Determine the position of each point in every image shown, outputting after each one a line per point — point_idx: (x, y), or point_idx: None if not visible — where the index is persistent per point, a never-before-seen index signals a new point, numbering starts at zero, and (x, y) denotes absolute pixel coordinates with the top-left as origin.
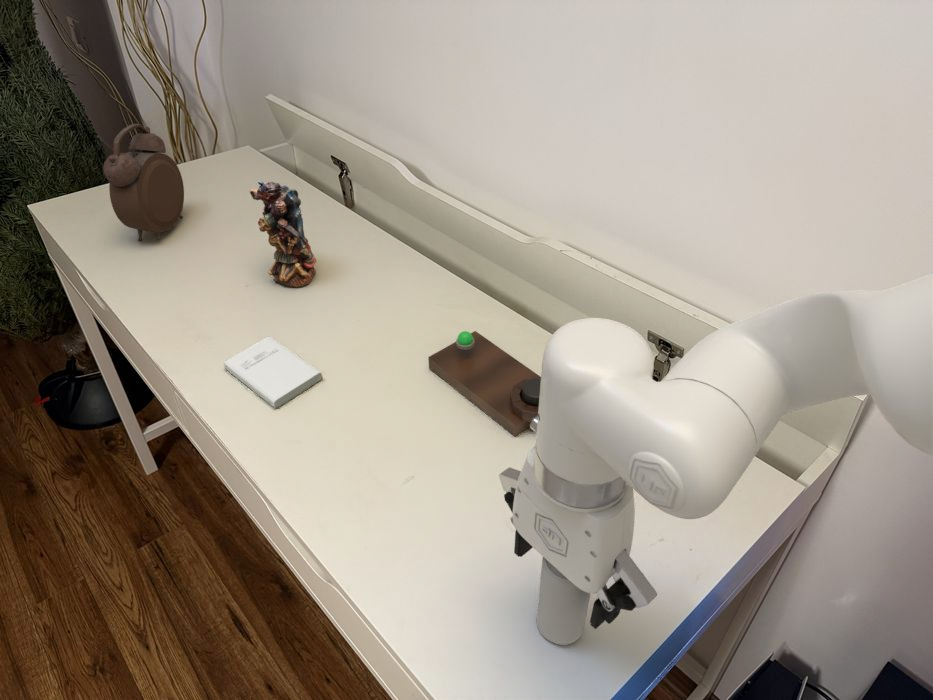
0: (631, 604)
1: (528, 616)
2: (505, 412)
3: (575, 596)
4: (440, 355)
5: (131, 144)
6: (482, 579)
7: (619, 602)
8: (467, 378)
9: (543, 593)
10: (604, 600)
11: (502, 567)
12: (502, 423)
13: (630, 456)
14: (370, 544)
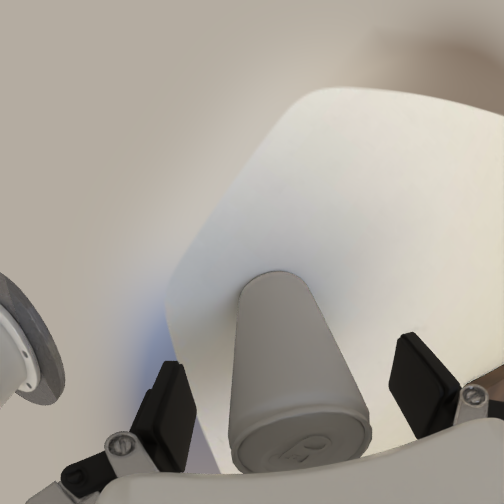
0: (63, 484)
1: (315, 272)
2: (487, 391)
3: (235, 387)
4: None
5: None
6: (398, 252)
7: (96, 470)
8: None
9: (304, 329)
10: (124, 456)
11: (392, 287)
12: (482, 380)
13: None
14: (497, 166)
